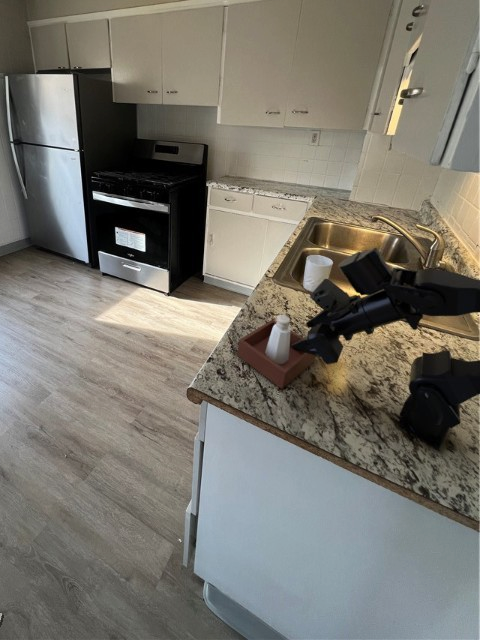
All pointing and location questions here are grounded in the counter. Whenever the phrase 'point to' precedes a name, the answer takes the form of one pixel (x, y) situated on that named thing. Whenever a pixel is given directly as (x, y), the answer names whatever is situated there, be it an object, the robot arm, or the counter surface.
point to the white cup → (316, 271)
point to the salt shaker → (279, 341)
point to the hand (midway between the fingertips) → (300, 335)
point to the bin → (254, 355)
